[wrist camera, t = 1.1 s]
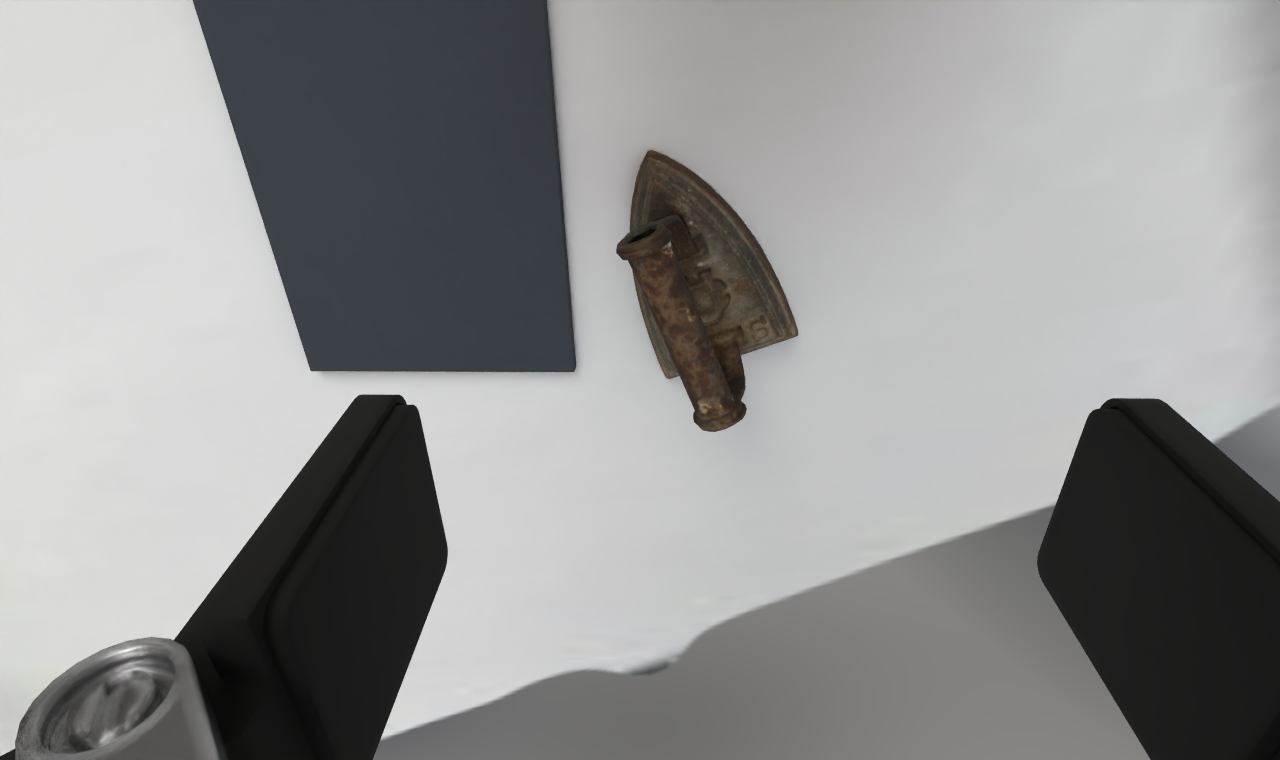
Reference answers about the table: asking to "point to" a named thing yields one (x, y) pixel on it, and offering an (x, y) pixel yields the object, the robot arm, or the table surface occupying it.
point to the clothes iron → (701, 287)
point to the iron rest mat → (404, 176)
